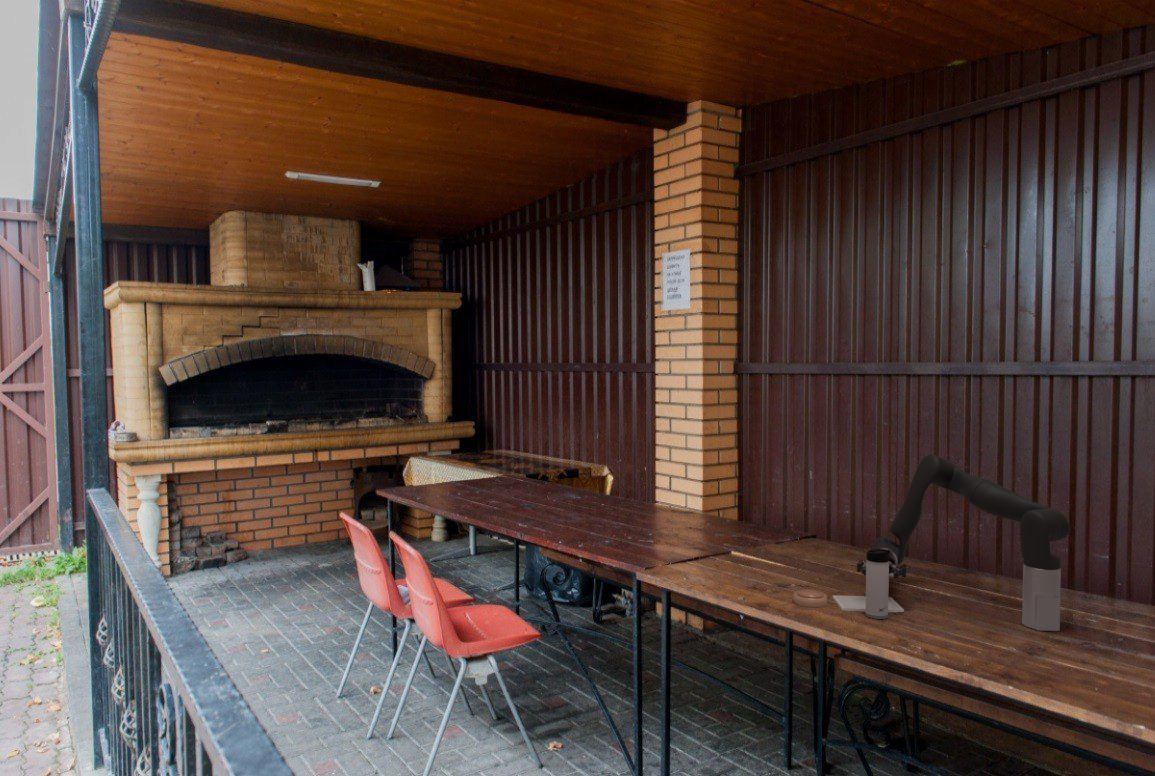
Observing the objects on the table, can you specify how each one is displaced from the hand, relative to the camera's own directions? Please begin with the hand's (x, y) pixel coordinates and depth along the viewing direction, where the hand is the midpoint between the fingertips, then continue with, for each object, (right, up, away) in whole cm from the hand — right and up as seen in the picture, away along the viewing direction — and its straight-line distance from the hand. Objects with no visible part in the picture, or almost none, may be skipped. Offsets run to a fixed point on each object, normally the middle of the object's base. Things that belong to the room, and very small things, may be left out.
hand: (879, 574), depth 242 cm
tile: (-2, -11, +6) cm, 12 cm away
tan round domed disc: (-19, -11, +8) cm, 23 cm away
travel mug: (-3, -11, -5) cm, 13 cm away
